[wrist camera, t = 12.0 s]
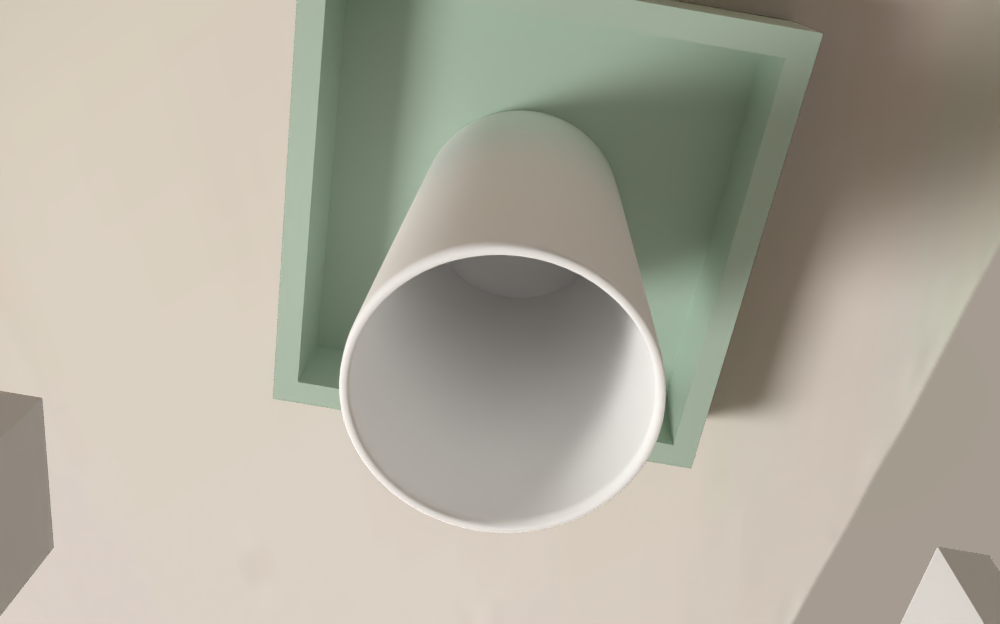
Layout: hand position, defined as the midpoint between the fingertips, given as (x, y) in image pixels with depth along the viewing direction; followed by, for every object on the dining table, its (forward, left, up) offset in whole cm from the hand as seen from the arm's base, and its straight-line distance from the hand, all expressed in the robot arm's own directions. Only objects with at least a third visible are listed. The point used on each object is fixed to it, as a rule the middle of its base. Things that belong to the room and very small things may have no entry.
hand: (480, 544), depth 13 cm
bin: (+2, 0, -25) cm, 25 cm away
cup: (+2, 0, -25) cm, 25 cm away
